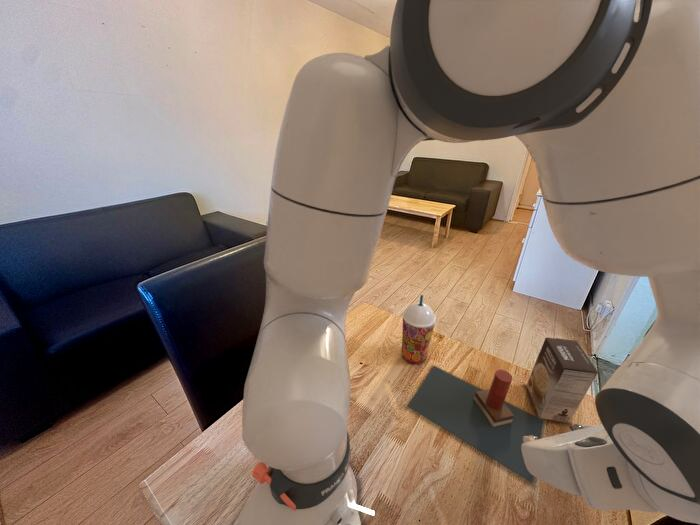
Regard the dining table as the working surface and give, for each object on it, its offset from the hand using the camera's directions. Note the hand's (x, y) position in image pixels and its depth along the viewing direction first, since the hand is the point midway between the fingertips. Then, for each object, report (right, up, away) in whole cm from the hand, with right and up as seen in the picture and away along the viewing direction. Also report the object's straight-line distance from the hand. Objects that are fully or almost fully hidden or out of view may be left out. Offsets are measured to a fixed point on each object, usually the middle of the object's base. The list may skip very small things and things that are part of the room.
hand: (551, 435), depth 48 cm
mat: (-7, -5, +15) cm, 17 cm away
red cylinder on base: (-2, -4, +15) cm, 16 cm away
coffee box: (+11, -4, +18) cm, 21 cm away
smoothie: (-16, +3, +31) cm, 35 cm away
